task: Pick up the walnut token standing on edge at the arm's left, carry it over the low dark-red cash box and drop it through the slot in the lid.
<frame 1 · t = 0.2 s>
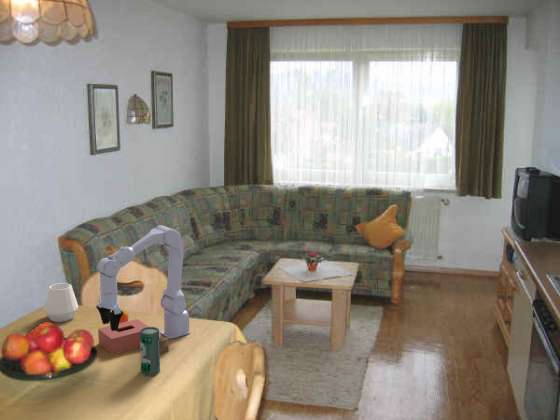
hand: (110, 326, 205), 10 cm above the table, fingers open, 7 cm apart
token: (161, 352, 208), on the table
clementine: (121, 326, 231), on the table
white tapered hollow vessel: (61, 318, 238), on the table
can: (150, 372, 193), on the table
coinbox: (125, 343, 215), on the table
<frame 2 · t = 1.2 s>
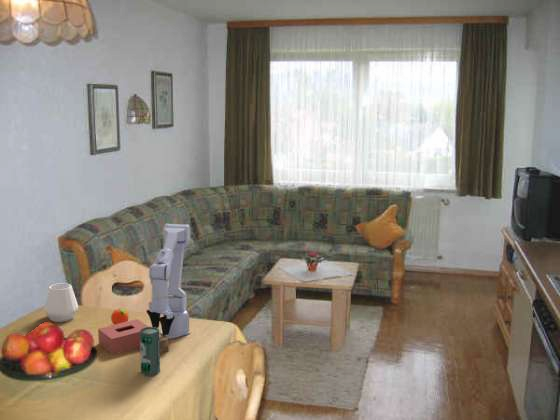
hand: (160, 331, 206), 8 cm above the table, fingers open, 7 cm apart
nothing on the table moved.
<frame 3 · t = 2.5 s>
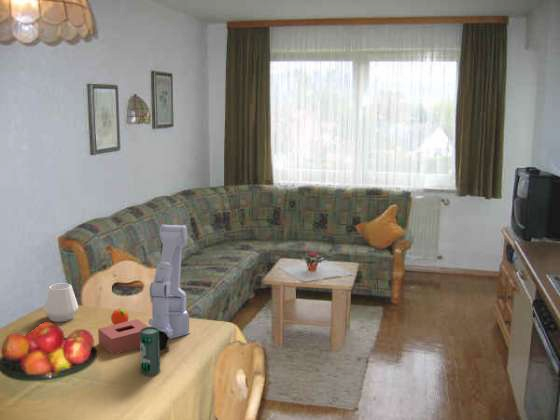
hand: (161, 348, 208), 2 cm above the table, fingers closed on token, 2 cm apart
token: (161, 352, 208), on the table, touching gripper
everything else where it was.
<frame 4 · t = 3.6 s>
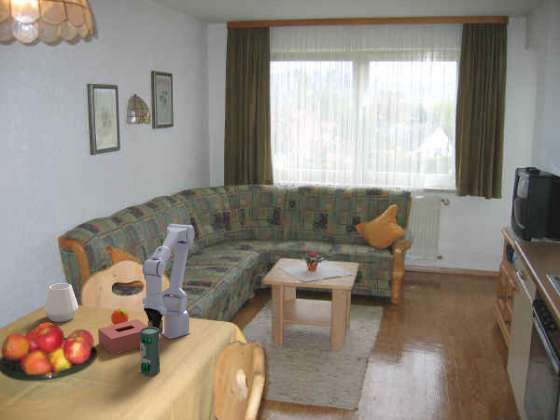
hand: (154, 327, 207), 9 cm above the table, fingers closed on token
token: (155, 333, 208), point 7 cm above the table, touching gripper
everything else where it was.
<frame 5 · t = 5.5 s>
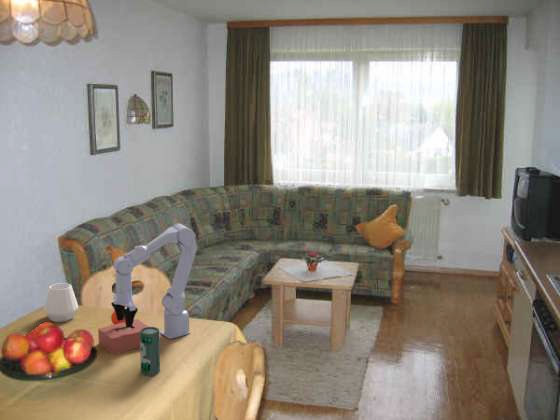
hand: (124, 323, 213), 8 cm above the table, fingers open, 7 cm apart
token: (125, 342, 215), point 1 cm above the table, touching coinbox
everything else where it was.
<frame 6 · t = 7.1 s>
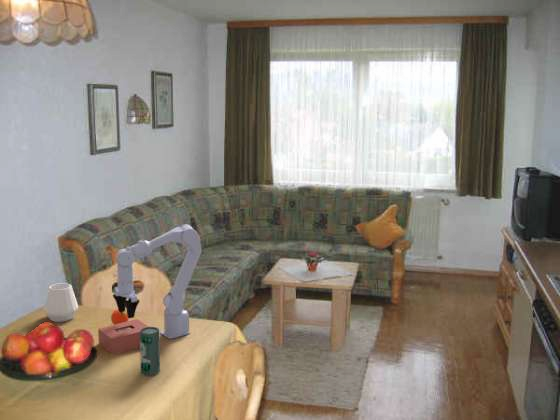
hand: (126, 314, 216), 10 cm above the table, fingers open, 7 cm apart
nothing on the table moved.
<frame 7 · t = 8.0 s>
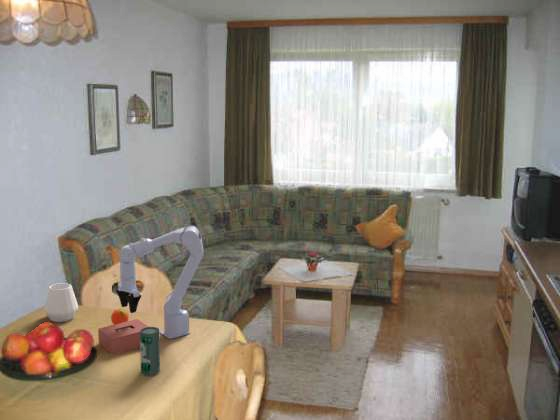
hand: (128, 309, 221), 10 cm above the table, fingers open, 7 cm apart
nothing on the table moved.
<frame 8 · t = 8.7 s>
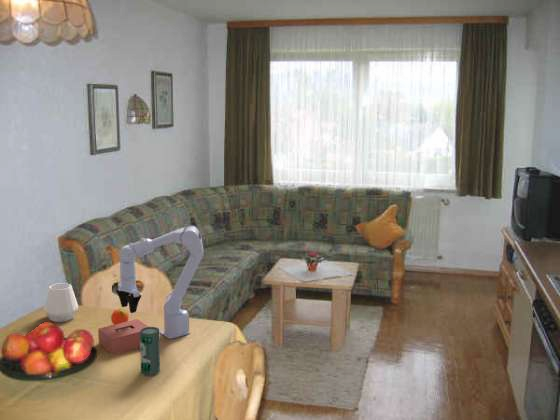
hand: (128, 309, 221), 10 cm above the table, fingers open, 7 cm apart
nothing on the table moved.
at the end: token inside the target area on the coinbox (0.1 cm from its centre), point 0.6 cm above the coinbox's base; the gripper is holding nothing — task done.
